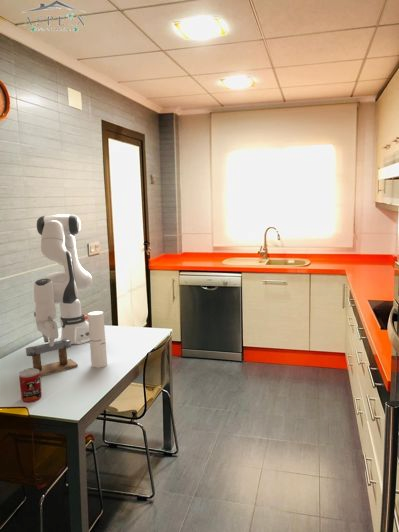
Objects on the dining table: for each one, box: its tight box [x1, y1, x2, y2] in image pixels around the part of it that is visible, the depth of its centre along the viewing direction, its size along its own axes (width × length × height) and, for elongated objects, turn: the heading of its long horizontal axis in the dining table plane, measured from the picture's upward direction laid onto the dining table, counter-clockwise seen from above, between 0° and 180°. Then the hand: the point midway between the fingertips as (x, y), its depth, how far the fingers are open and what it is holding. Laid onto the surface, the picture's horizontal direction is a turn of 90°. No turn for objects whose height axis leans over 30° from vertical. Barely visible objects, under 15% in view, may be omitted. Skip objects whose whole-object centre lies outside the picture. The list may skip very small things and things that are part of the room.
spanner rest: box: [24, 348, 79, 377], centre depth 209 cm, size 22×10×9 cm, turn 126°
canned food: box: [18, 367, 43, 403], centre depth 179 cm, size 8×8×11 cm
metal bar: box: [25, 339, 72, 357], centre depth 208 cm, size 20×4×3 cm, turn 126°
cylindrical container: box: [87, 310, 108, 368], centre depth 212 cm, size 7×7×25 cm
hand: (48, 344), depth 208 cm, fingers open, 6 cm apart
